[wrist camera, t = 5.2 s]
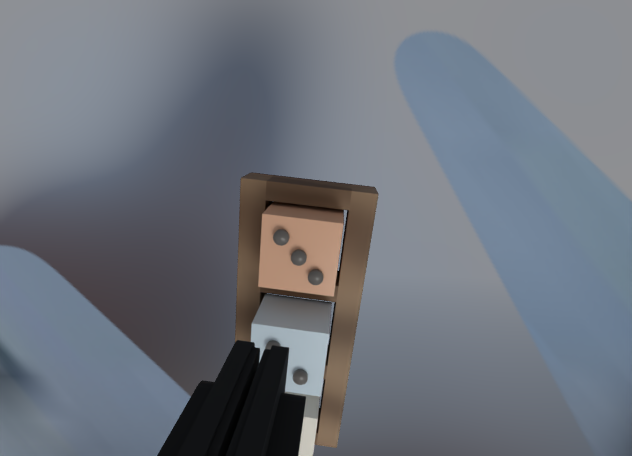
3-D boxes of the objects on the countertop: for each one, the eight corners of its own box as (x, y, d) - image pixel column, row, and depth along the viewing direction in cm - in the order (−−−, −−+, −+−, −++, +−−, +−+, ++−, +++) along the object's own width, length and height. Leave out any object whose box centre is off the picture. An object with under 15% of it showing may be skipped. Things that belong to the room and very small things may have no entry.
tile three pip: (335, 271, 23) (333, 299, 20) (270, 262, 23) (256, 289, 20) (343, 208, 22) (343, 225, 18) (274, 199, 22) (261, 215, 18)
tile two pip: (324, 358, 24) (320, 400, 20) (261, 349, 24) (247, 389, 21) (331, 302, 23) (329, 337, 19) (265, 293, 23) (250, 326, 19)
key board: (337, 421, 28) (336, 447, 26) (240, 407, 29) (231, 431, 26) (374, 186, 22) (378, 194, 20) (251, 172, 22) (240, 177, 20)
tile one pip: (314, 425, 26) (310, 475, 22) (257, 416, 26) (243, 464, 22) (321, 378, 25) (317, 423, 21) (260, 369, 25) (245, 412, 21)
